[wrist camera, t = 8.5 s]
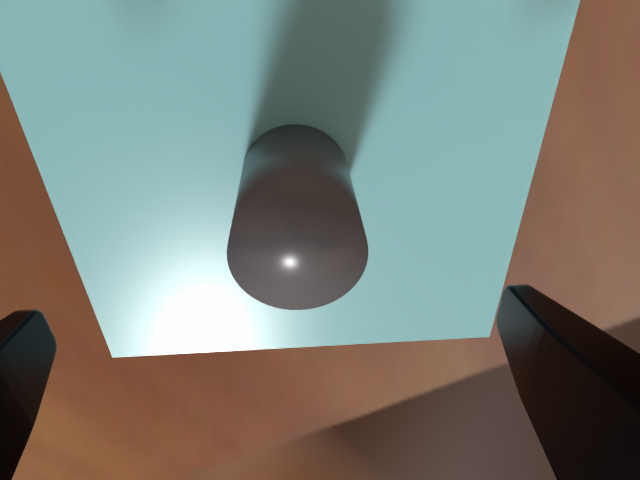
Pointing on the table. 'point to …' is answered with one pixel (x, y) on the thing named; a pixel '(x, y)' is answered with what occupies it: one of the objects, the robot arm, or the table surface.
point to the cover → (286, 160)
